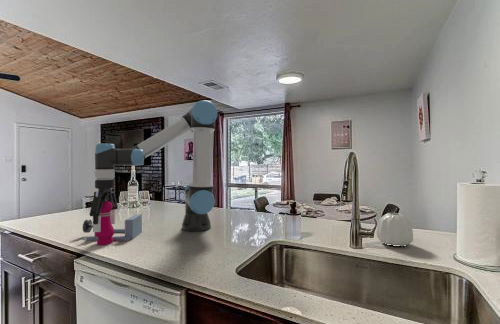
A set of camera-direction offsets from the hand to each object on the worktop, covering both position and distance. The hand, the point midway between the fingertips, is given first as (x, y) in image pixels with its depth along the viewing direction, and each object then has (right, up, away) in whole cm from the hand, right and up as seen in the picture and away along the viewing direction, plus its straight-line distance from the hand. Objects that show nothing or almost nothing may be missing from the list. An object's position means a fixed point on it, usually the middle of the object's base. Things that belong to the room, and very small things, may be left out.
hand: (104, 227), depth 120 cm
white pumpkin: (+126, -7, -1) cm, 127 cm away
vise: (+1, -7, +11) cm, 13 cm away
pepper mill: (0, -7, 0) cm, 7 cm away
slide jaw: (-10, -7, +11) cm, 16 cm away
